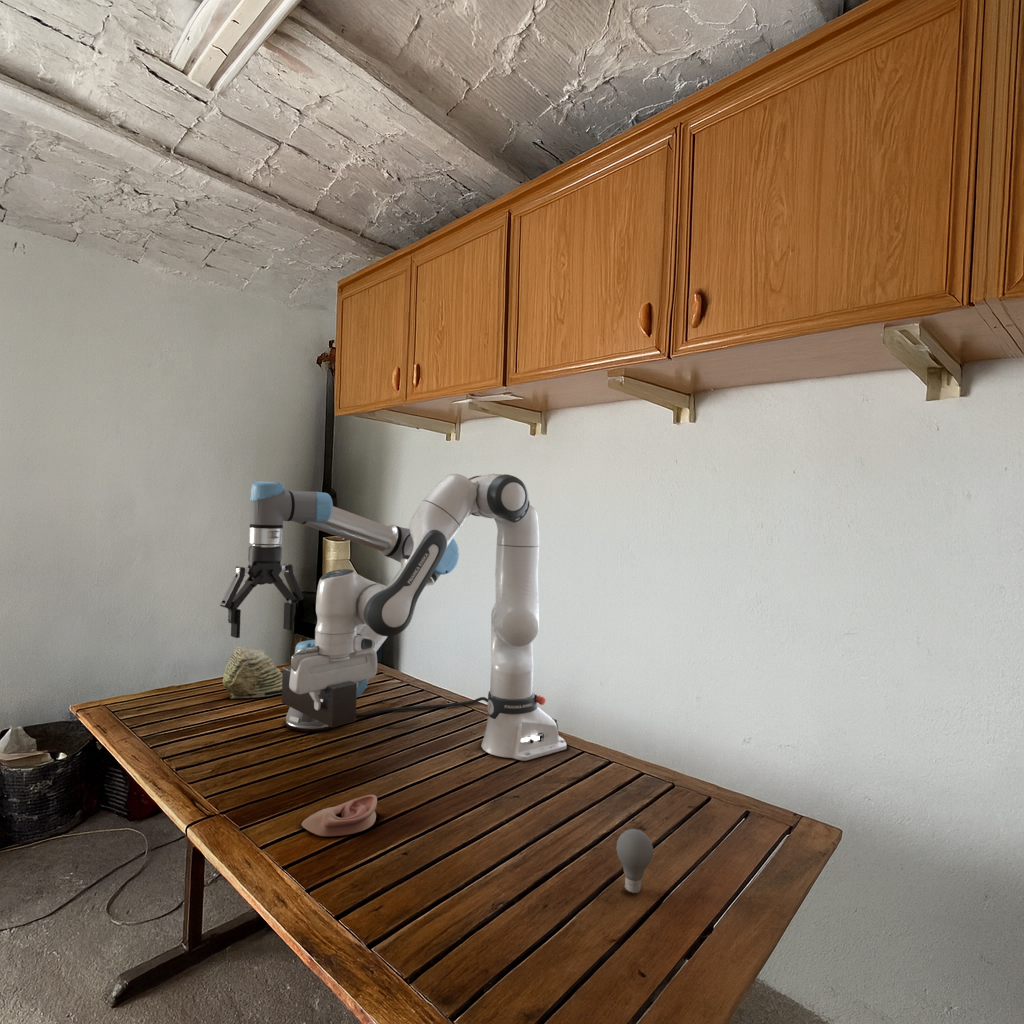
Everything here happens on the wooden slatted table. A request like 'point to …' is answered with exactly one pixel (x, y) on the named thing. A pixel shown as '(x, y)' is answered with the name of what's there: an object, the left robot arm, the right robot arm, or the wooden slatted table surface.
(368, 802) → the anatomical model
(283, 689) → the box
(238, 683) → the fossil
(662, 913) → the wooden slatted table surface
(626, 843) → the light bulb
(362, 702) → the wooden slatted table surface
